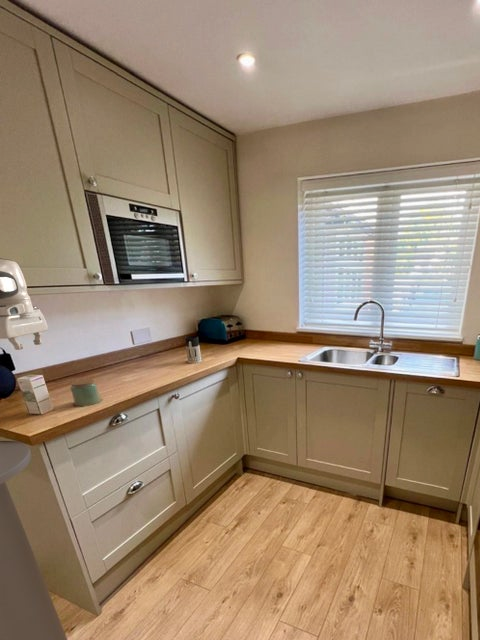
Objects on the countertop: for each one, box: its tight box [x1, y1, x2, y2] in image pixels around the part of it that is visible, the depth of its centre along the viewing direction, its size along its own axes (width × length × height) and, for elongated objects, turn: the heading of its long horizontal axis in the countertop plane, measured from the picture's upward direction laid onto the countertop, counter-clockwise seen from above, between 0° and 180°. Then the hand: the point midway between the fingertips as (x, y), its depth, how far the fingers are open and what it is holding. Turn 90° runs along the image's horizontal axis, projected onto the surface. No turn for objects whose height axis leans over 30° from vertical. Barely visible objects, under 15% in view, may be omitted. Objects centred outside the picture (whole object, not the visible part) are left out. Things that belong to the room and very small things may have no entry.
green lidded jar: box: [69, 378, 101, 407], centre depth 137 cm, size 9×9×9 cm
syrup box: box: [16, 374, 54, 415], centre depth 127 cm, size 6×6×14 cm
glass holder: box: [184, 335, 203, 364], centre depth 199 cm, size 9×14×15 cm, turn 10°
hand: (29, 346), depth 122 cm, fingers open, 8 cm apart
